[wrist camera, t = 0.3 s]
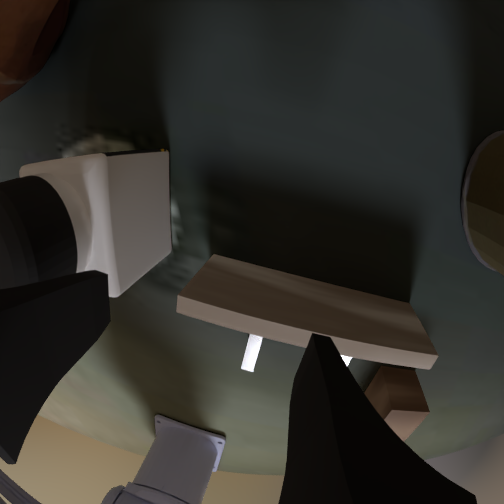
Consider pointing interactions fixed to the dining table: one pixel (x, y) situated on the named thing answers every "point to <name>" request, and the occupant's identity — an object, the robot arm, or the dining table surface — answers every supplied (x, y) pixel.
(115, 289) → the medicine bottle
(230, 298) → the wall plate
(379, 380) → the brown wooden block
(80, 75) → the dining table surface
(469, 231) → the canister
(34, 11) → the butternut squash
